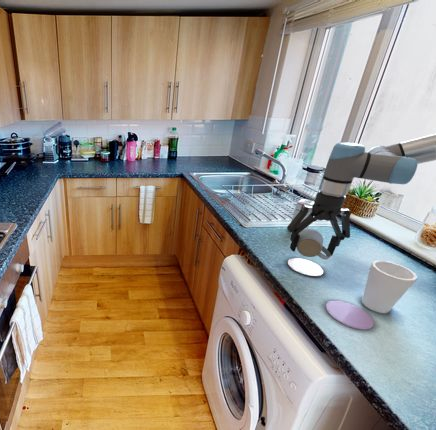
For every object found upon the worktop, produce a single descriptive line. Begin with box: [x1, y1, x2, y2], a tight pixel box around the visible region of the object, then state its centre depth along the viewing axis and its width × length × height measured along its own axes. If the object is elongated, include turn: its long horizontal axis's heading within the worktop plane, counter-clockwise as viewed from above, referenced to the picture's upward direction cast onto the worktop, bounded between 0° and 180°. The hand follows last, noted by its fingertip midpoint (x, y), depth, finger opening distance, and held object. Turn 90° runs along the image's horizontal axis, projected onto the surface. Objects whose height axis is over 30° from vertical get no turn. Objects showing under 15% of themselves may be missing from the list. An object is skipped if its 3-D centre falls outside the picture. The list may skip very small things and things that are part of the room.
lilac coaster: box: [325, 300, 375, 331], centre depth 82 cm, size 11×11×1 cm
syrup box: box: [290, 198, 315, 231], centre depth 125 cm, size 6×6×14 cm
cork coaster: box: [287, 257, 324, 278], centre depth 103 cm, size 11×11×1 cm
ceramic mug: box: [296, 228, 332, 261], centre depth 98 cm, size 11×8×8 cm
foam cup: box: [361, 259, 418, 314], centre depth 83 cm, size 10×9×13 cm
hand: (310, 251), depth 100 cm, fingers closed on ceramic mug, 11 cm apart
